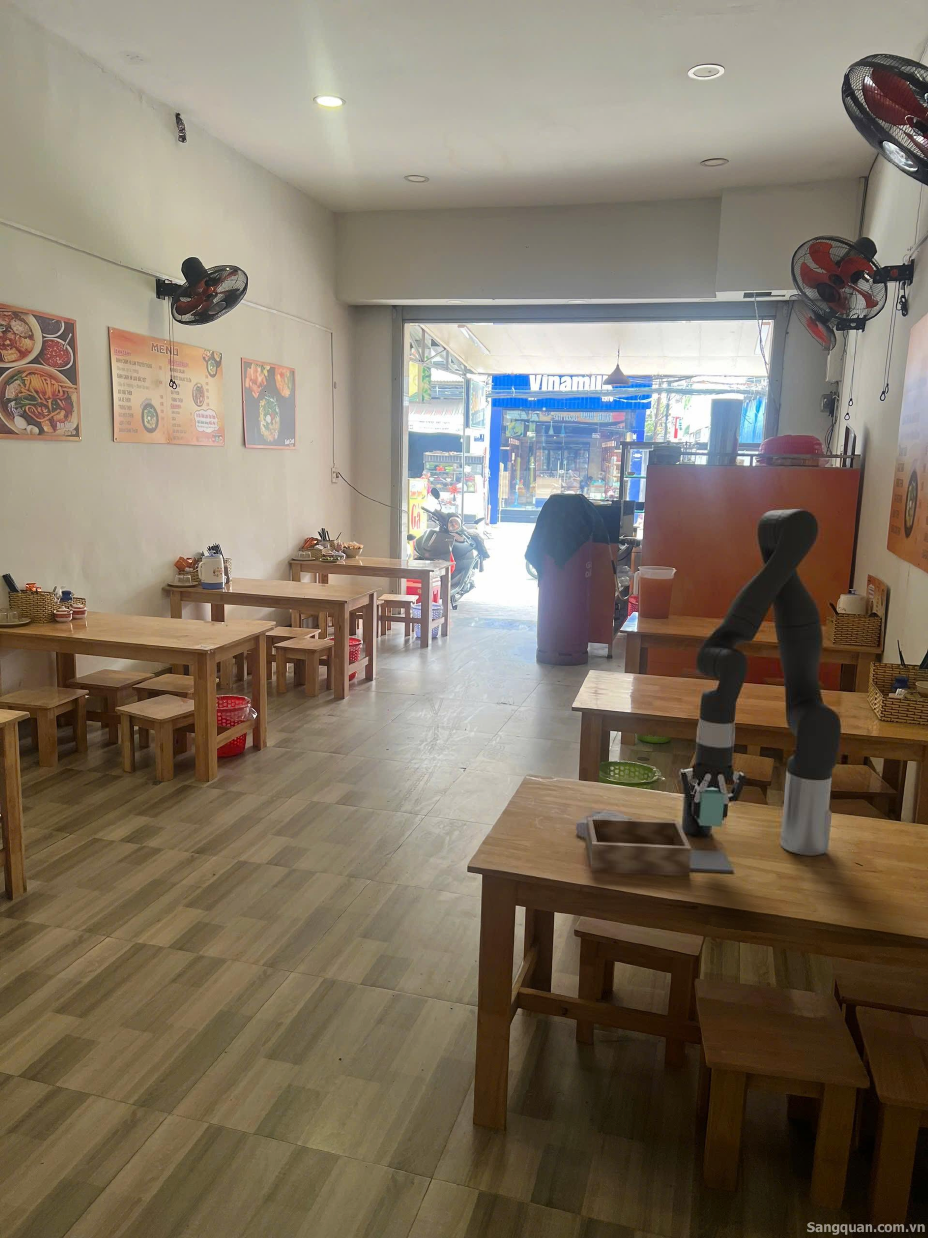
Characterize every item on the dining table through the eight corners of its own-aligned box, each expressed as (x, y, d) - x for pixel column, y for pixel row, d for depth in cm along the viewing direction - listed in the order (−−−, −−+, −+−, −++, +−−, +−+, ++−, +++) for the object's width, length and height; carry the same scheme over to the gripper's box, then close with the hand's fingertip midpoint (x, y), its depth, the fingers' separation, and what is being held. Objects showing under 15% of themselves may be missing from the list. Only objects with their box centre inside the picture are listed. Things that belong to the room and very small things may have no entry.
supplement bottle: (711, 840, 197) (714, 789, 195) (680, 835, 199) (683, 785, 197) (712, 828, 204) (716, 779, 202) (682, 824, 206) (685, 775, 204)
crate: (677, 847, 193) (678, 821, 192) (689, 876, 179) (691, 848, 178) (586, 843, 194) (587, 817, 193) (591, 871, 180) (592, 844, 179)
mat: (723, 854, 190) (723, 851, 190) (733, 873, 181) (733, 870, 181) (681, 852, 190) (681, 849, 190) (689, 870, 181) (689, 868, 181)
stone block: (572, 843, 199) (612, 846, 193) (570, 822, 199) (609, 824, 193) (596, 828, 208) (635, 831, 202) (594, 808, 208) (632, 810, 202)
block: (717, 818, 186) (719, 786, 185) (721, 826, 182) (724, 794, 181) (695, 816, 187) (698, 785, 186) (699, 825, 182) (702, 793, 181)
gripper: (745, 736, 185) (739, 813, 187) (677, 733, 186) (671, 809, 188) (754, 747, 177) (747, 827, 180) (683, 744, 178) (677, 823, 181)
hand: (708, 818), depth 184 cm, fingers closed on block, 4 cm apart
